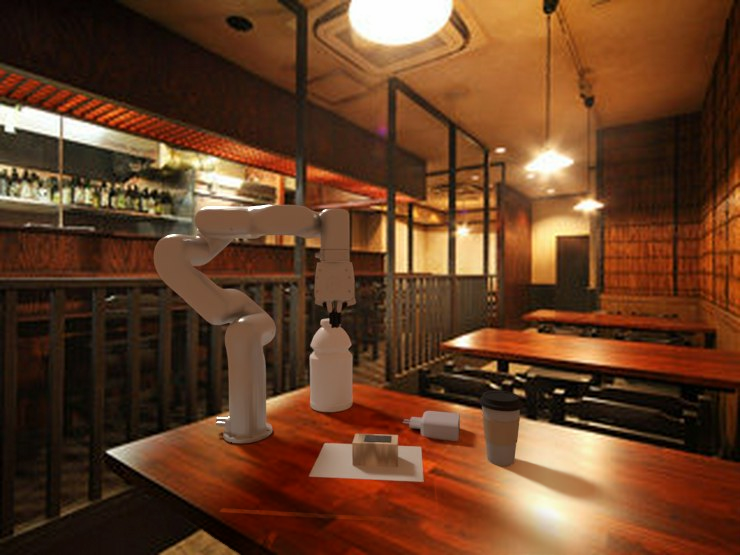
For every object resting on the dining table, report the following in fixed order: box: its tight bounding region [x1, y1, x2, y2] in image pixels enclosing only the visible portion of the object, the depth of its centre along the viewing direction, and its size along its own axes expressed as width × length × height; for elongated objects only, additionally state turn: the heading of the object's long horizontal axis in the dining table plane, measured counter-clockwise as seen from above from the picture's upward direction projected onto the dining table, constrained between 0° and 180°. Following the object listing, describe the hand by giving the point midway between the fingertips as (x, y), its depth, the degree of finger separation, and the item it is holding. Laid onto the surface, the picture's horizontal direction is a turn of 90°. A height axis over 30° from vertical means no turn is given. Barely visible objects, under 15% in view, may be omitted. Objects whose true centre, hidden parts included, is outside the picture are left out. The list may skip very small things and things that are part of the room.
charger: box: [402, 410, 461, 442], centre depth 107 cm, size 5×9×15 cm
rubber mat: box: [308, 442, 425, 483], centre depth 90 cm, size 24×16×1 cm, turn 84°
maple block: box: [351, 433, 399, 467], centre depth 90 cm, size 5×5×10 cm
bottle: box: [309, 317, 354, 413], centre depth 128 cm, size 14×14×28 cm
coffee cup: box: [478, 389, 523, 467], centre depth 91 cm, size 9×9×15 cm
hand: (335, 327), depth 103 cm, fingers closed
